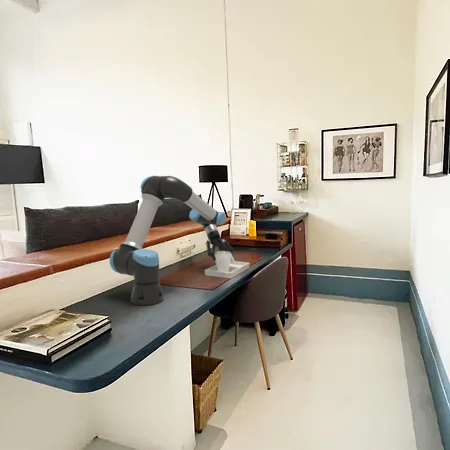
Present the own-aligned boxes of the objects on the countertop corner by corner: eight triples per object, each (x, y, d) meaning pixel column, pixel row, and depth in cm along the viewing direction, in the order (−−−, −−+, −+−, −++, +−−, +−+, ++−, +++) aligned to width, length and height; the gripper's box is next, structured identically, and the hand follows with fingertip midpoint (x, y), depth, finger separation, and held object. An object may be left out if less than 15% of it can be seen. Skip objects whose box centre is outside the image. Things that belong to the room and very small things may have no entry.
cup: (229, 274, 208) (229, 254, 206) (214, 273, 210) (214, 253, 208) (231, 270, 217) (232, 251, 215) (217, 269, 218) (217, 250, 217)
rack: (230, 278, 203) (230, 273, 203) (204, 275, 210) (204, 270, 210) (249, 267, 228) (249, 262, 227) (225, 264, 235) (225, 260, 235)
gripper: (225, 235, 229) (239, 264, 218) (194, 238, 218) (207, 269, 207) (230, 228, 224) (244, 257, 213) (198, 231, 213) (211, 262, 201)
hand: (225, 263), depth 210 cm, fingers open, 10 cm apart
